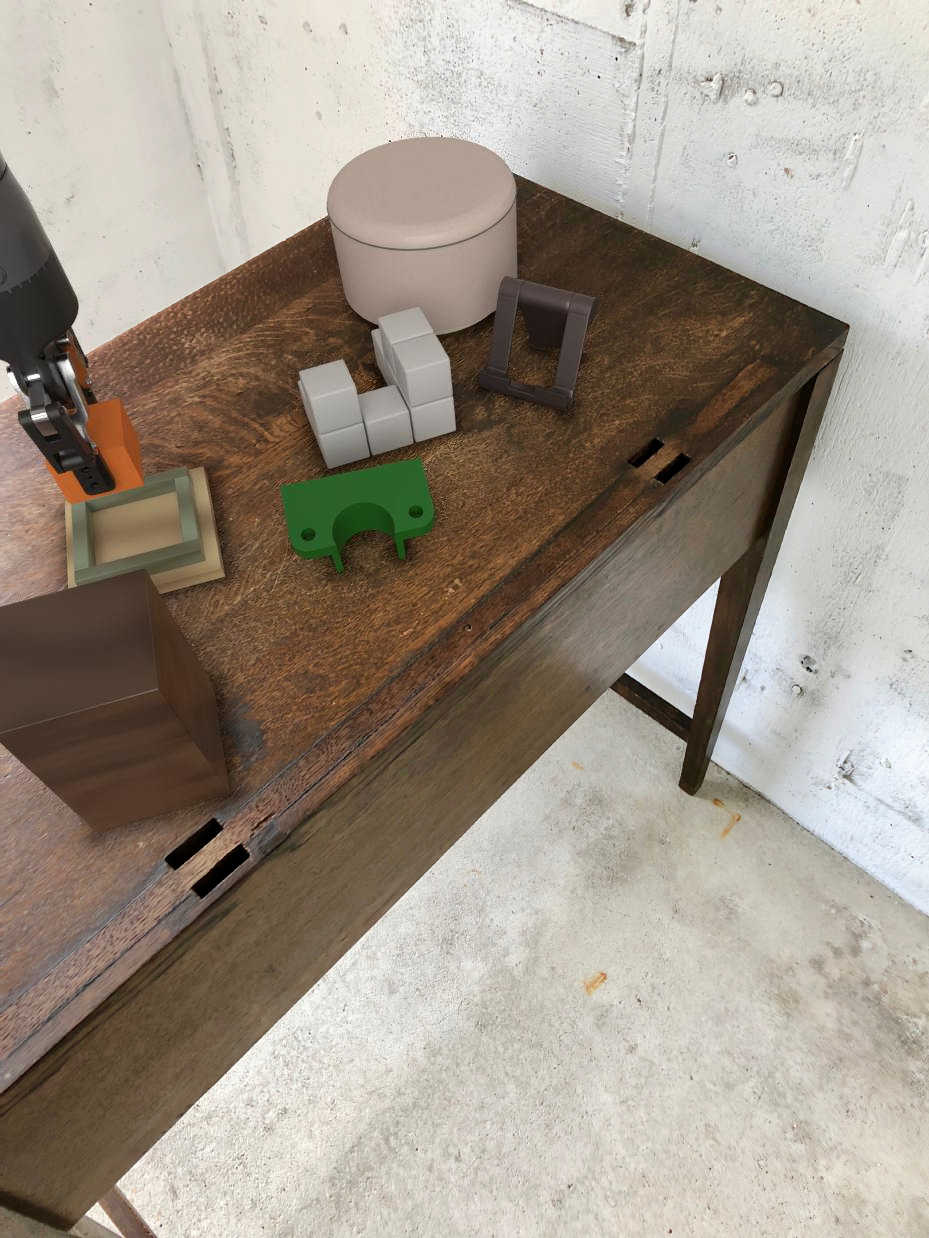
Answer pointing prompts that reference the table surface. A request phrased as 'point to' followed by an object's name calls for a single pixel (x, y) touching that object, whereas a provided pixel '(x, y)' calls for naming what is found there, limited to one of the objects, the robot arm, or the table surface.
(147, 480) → the square tray
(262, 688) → the table surface
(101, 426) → the orange square block
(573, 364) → the tablet stand
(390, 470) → the clamp
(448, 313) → the container
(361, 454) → the gray cube puzzle piece
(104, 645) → the stand
